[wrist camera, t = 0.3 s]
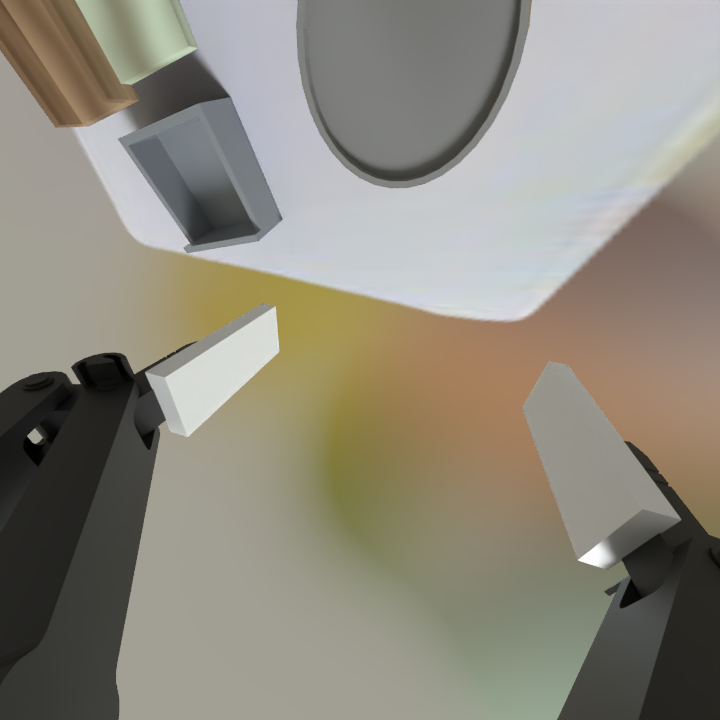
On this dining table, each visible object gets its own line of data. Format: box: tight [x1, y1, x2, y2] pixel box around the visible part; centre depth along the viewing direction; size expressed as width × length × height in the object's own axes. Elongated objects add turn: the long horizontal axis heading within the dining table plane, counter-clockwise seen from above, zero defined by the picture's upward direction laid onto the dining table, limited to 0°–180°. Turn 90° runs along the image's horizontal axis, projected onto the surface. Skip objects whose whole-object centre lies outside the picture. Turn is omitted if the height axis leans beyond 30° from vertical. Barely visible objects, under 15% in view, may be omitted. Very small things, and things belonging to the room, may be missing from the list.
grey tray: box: [118, 97, 283, 253], centre depth 34 cm, size 13×13×7 cm
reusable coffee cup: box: [296, 0, 532, 188], centre depth 19 cm, size 13×12×15 cm
